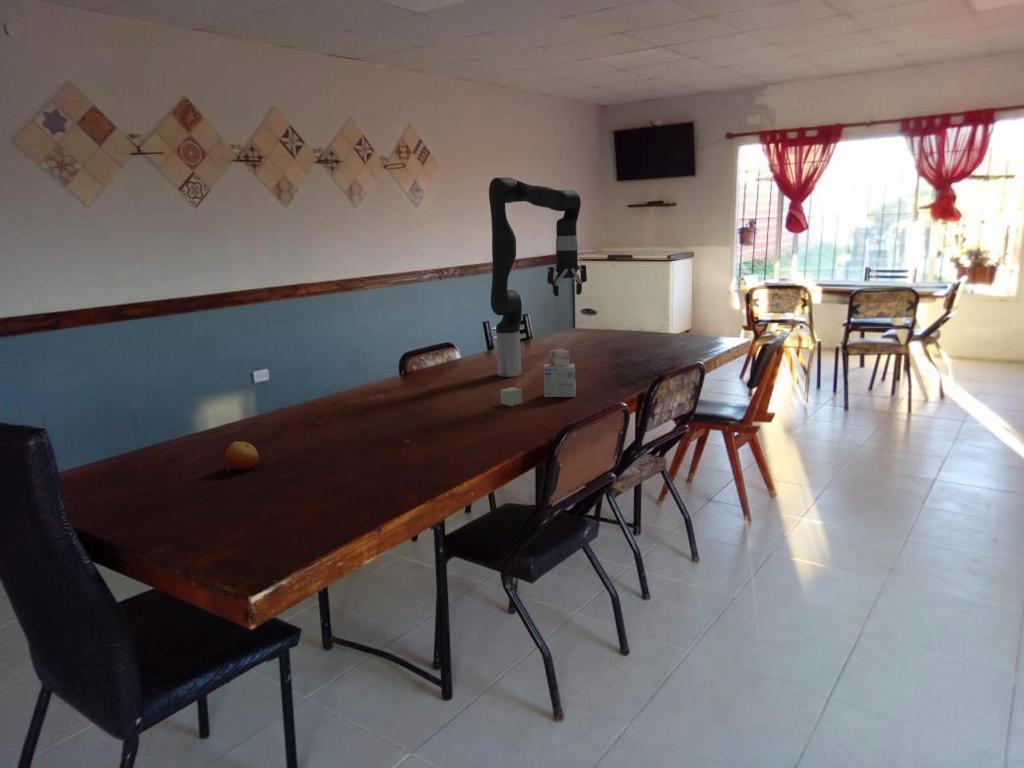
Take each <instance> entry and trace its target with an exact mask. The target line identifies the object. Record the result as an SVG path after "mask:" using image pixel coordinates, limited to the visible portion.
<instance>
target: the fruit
mask: <svg viewBox="0 0 1024 768" xmlns="http://www.w3.org/2000/svg"><path fill="white" fill-rule="evenodd" d="M224 457H225V461H226V464H227V466H228V468H227V470H226V471H227V472H229V471H230V470H235V471H242V472H243V471H245V472H246V471H249V470H251V468H252V467H254V466H255V465H256V463H257V462H258V461H259V459H260V457H259V453H258V451H257V449H256V447H255V446H254V445H252V444H251V443H248V442H245V441H233V442H232V443H230V445H228V447H227V448H226V450H225V453H224Z"/></svg>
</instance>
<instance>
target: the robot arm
mask: <svg viewBox="0 0 1024 768" xmlns="http://www.w3.org/2000/svg"><path fill="white" fill-rule="evenodd" d="M488 199H489V207H490V218H491V219H490V220H491V257H492V258H491V259H492V262H491V263H492V274H491V276H492V278H491V280H492V281H491V289H490V291H491V292H490V308H491V310H492V312H493V313H494V314H495V315H496V316H502V319H501V320H500V321H499V323H497V324H496V326H495V335H496V338H495V339H496V354H497V355H496V357H497V360H496V362H497V375H498V376H499V377H502V378H503V377H506V378H507V377H508V378H510V377H511V378H513V377H518V376H521V375H522V360H521V359H522V357H521V355H522V354H521V332H520V330H521V325H522V314H523V313H522V310H523V309H522V307H523V306H522V298H521V295H520V294H519V292H518V291H516V290H514V289H508V285H509V284H508V281H509V276H510V273H511V271H512V268H513V267H514V263H515V261H516V257H517V237H516V235H515V232H514V230H513V229H512V226H511V224H510V223H509V221H508V218H507V213H506V212H507V211H506V204H512V203H516V202H517V203H518V202H519V203H520V202H524V203H525V202H526V203H529V204H531V205H534V206H536V207H541V208H545V209H550V210H553V211H555V212H564V214H563V216H562V217H561V218H559V219H558V220H557V221H556V226H555V227H556V238H555V240H556V241H555V255H556V256H555V259H556V260H555V261H556V262H555V263H556V265H555V266H548V267H547V278H546V279H547V280H546V281H547V284H548V285H551V286H552V294H553V295H554V296H555V297H559V296H560V295H559V293H560V291H559V284H560V282H561V281H563V279H573V280H574V281H575V283H576V284H575V289H576V290H575V293H576V295H578V296H580V295H581V294H582V292H583V287H582V286H583V283H586V282H587V281H588V277H587V266H586V264H580V265H579V264H578V262H579V257H578V255H579V253H578V252H579V251H578V246H579V245H578V238H577V234H578V233H577V232H578V231H577V223H578V219H579V214H580V210H581V205H582V202H581V201H582V199H581V197H580V194H579V192H578V191H576V190H574V189H572V190H571V189H566V190H565V189H563V190H562V189H561V190H560V189H555V188H553V187H548V186H543V185H542V186H541V185H534V184H532V185H531V184H527V183H526V182H522V181H520V180H518V179H516V178H513V177H494V178H492V179H491V181H490V183H489V186H488ZM578 270H579V272H580V275H578ZM555 272H556V273H557V274H556V276H555V277H554V273H555Z"/></svg>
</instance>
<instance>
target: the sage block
mask: <svg viewBox="0 0 1024 768" xmlns="http://www.w3.org/2000/svg"><path fill="white" fill-rule="evenodd" d="M520 403H522V404H523V390H522V388H516V387H508V388H504V389H500V405H501V404H505V405H509V406H508V407H510V406H512V407H514V406H513V405H516V404H520ZM505 405H504V406H505ZM520 405H521V404H520ZM516 406H517V405H516Z"/></svg>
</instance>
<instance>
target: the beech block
mask: <svg viewBox="0 0 1024 768" xmlns="http://www.w3.org/2000/svg"><path fill="white" fill-rule="evenodd" d="M549 364H550V365H552V366H554V367H562V366H570V364H571V363H570V351H569V350H567V349H564V348H561V349H551V350H549Z"/></svg>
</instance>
